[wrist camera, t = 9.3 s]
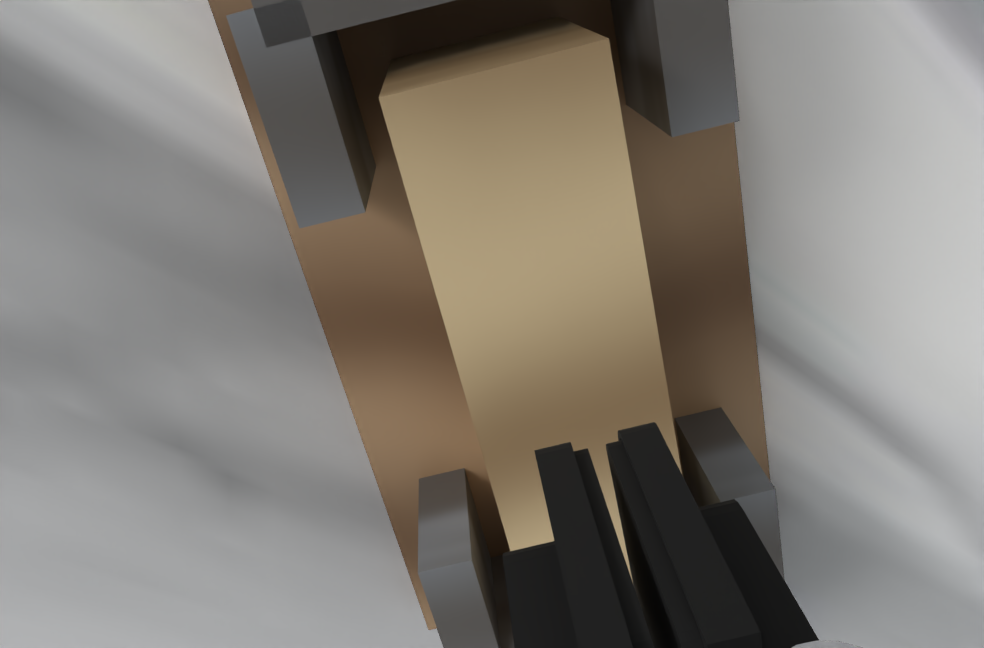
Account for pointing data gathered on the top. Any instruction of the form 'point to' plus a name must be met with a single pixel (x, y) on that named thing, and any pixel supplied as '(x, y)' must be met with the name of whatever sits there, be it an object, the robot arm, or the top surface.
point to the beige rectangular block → (532, 250)
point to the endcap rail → (407, 282)
